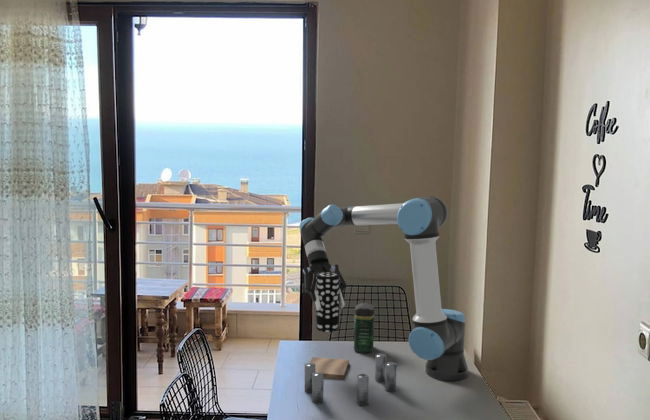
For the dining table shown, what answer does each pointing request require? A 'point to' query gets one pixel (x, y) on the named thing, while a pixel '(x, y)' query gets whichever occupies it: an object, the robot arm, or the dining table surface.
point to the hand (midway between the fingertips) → (331, 307)
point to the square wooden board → (331, 367)
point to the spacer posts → (316, 380)
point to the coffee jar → (364, 327)
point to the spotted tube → (328, 301)
